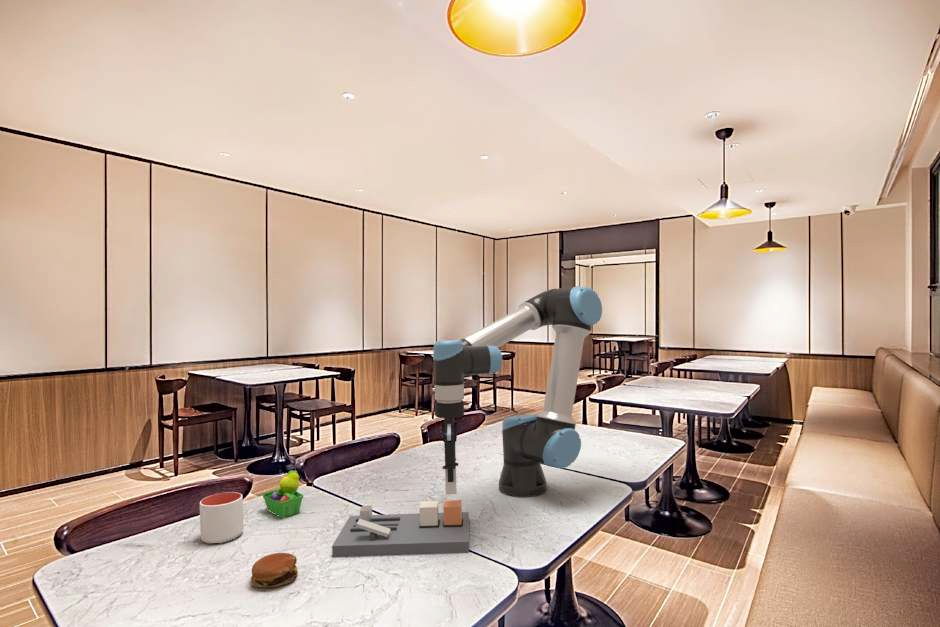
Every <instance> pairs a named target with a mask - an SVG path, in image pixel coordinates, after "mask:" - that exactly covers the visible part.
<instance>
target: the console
mask: <svg viewBox="0 0 940 627" xmlns="http://www.w3.org/2000/svg"><path fill="white" fill-rule="evenodd" d="M359 519H360V514H359V515H349V516H348V519H347V520H346V522H345V523H344V525H343V527H342V529H341V530H340V532H339V533H338V536H337V537H336V539H335V541H334V542H333V544H332V545H331V555H332V558H336V557H338V558H340V557H363V556H364V557H365V556H366V557H368V556H390V555H391V556H395V555H397V556H398V555H399V556H400V555H424V554H426V555H428V554H430V555H431V554H452V553H453V554H458V553H460V554H461V553H469V552H470V512H469V511H462V525H444V512H439V520H438V525H437V526H420V513H396V514H394V513H393V514H391V513H390V514H372V523H374V524H377V525H380V526H383V527H387V528H390V532H389V535H388V537H385V536H382V535H379V534H376V533H373V532H370V531H367V530H364V529H361V528H358V527H356V525H357V522H358V521H359Z"/></svg>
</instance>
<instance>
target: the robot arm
mask: <svg viewBox="0 0 940 627" xmlns="http://www.w3.org/2000/svg"><path fill="white" fill-rule="evenodd" d="M602 314H603V305H602V300H601V298H600V297H599V295H598V293H597V292H596V291H595V290H594V289H592V288H591V287H588V286H577V285H576V286H574V287H571V286H570V287H562V288H559V287H558V288H551V289H548V290H545V291H543V292H540V293H538V294H537V295H534V296H532V297H531V298H529V299H527V300H525V301H524V302H521V303H520V304H519V305H518V308H517V309H516V310H514V311H511V312H510V313H507V314H506V315H504V316H502V317H501V318H498V319H497V320H495V321H493V322H491V323H489V324H487V325H486V326H484V327H482V328H480V329H478V330H476V331H475V332H472V333H470V334H469V335H467V336H465V337H464V338H461V339H459V340H458V339H453V340H452V339H449V340H446V339H445V340H437V341H436V342H434V344H433V356H432V361H433V381H434V382H433V385H434V387H432V389H431V392H434V400H435V402H434V415H435V417H436V418H439V419H444V422H442V423H441V432H442V441H443V444H444V447H443V448H444V465H443V466H442V470H444V474H445V477H444V478H445V479H444V482H445V495H457V467H459V462H456V461H457V457H456V442H457V440H458V439H457V438H458V433H457V431H458V425H459V424H458V422H456V421H455V418H462V417H463V416H464V415H465V402H464V399H465V386H464V384H465V383H464V377H466V376H467V377H468V376H476V375H477V376H478V375H479V376H480V375H490V374H494V373H497V372H498V371H500V370H501V368H502V365H503V355H502V352H501V350H500V348H501V347H502V346H503V345H505V344H507V343H509V342H510V341H513V340H514V339H515V338H517V337H519V336H521V335H523V334H525V333H527V332H528V331H530V330H531V331H536V330H538V329H540V328H542V327H545V326H551V327H552V329H553V330H554V332H555V336H554V337H555V338H554V344H553V348H552V355H551V362H550V367H549V372H548V379H547V385H546V390H545V391H546V392H545V396H544V402H543V408H542V410H541V411H540V413H538V414H532V413H531V414H518V415H513V416H507V417H505V418H504V419H502V430H501V434H502V453H503V454H502V456H503V466H502V469H501V473H500V476H499V480H498V490H499V492H501V493H502V494H504V495H506V496H507V495H508V496H511V497H521V498H522V497H525V498H526V497H535V496H539V495H542V494H544V493H546V491H547V490H548V486H547V485H548V482H547V479H546V476H545V474H544V470H543V468H542V465H541V464H543V465H546V466H547V467H550V468H558V469H565V468H567V467H570V466H571V465H572V464H573V463H574V462H575V461H576V460H577V459H578V457H579V455H580V452H581V449H582V448H581V447H582V440H581V438H580V434H579V433H578V432H577V431H576V426H577V424H576V421H575V420H574V418H573V410H574V405H575V399H576V398H575V397H576V392H577V384H578V381H579V380H578V379H579V373H580V367H581V360H582V354H583V347H584V342H585V338H586V337H588V336H589V335H590V334H591V331H592V326H595V325H596V324H597V323H599V322H600V320H601V318H602V316H603V315H602Z"/></svg>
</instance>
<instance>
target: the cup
mask: <svg viewBox="0 0 940 627" xmlns="http://www.w3.org/2000/svg"><path fill="white" fill-rule="evenodd" d="M243 500H244V499H243V493H240V492H237V491H236V492H235V491H231V492H230V491H229V492H228V491H227V492H221V493H220V492H219V493H215V494H212V495H208V496H206V497H204V498H202V499H201V500H200V502H199V524H200V525H199V527H200V539H201V540H202V541H203V543H205V542H207V543H206V544H209V543H219V544H222V543H221V542H225V543H227V542H226V541H228V542H231V541H233V540H235V539H237V538H238V537H240V536H241V535H242V533H243V532H244V506H243V505H244V502H243ZM232 539H233V540H232ZM230 540H231V541H230Z"/></svg>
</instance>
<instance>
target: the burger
mask: <svg viewBox="0 0 940 627" xmlns="http://www.w3.org/2000/svg"><path fill="white" fill-rule="evenodd" d="M297 560H298V559H297V557H296V556H295V555H294V554H292V553H287V552H277V553H271V554H268V555H265V556H263V557H261V558H259V559H258V560H257V561H255V562H254V563H253V565H252V567H251V575H252V576H251V577H250V580H251V585H252V587H255V588H267V589H268V588H270V589H273V588H278V587H280V586H283V585H286V584H289V583H290V582H292V581H294V578H296V577H298V574H299V573H298V567H297V565H296V564H297Z"/></svg>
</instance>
